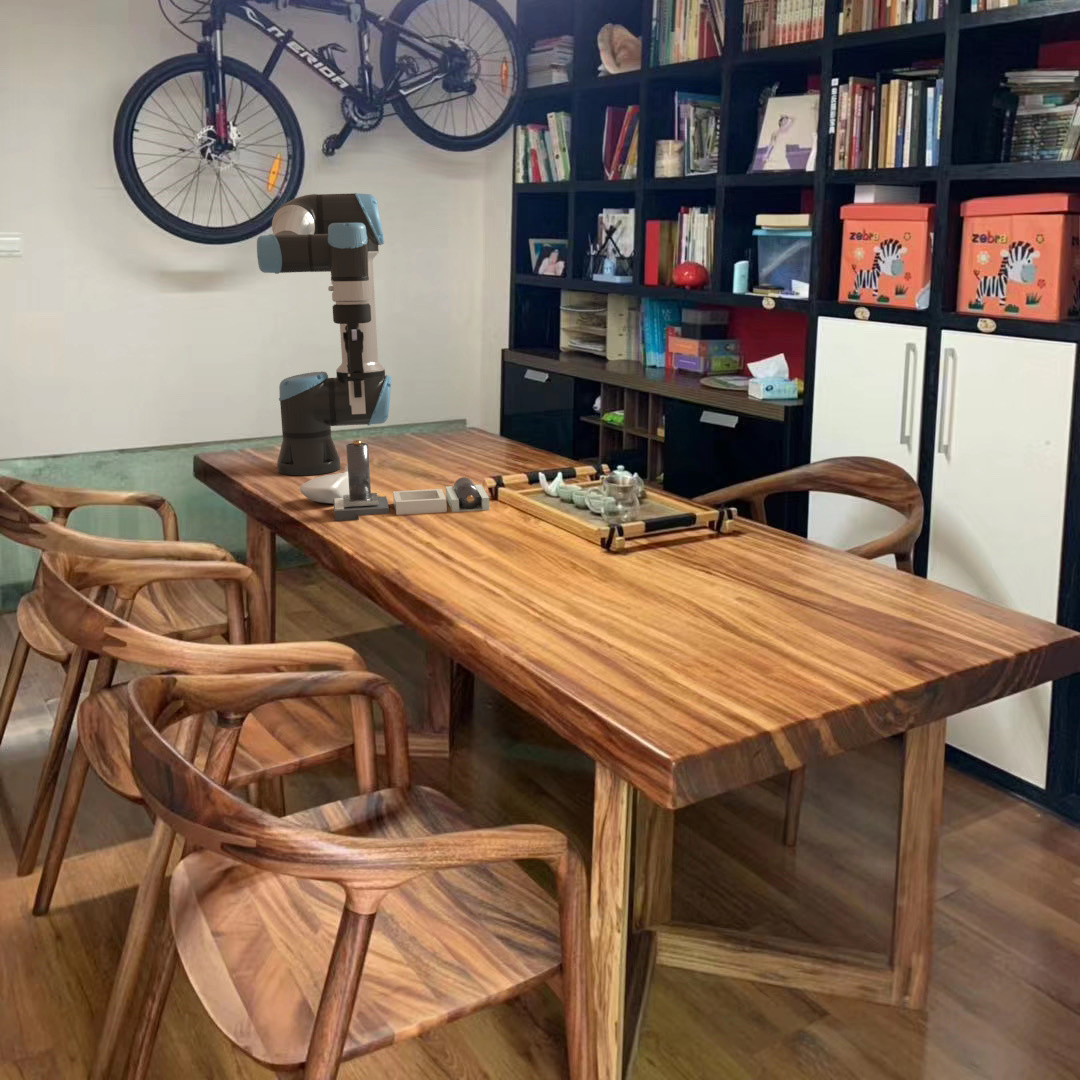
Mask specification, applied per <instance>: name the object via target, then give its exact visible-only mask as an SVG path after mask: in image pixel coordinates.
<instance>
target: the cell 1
mask: <svg viewBox="0 0 1080 1080" xmlns="http://www.w3.org/2000/svg"><path fill="white" fill-rule="evenodd" d="M369 455H370V454H369V444H368V443H366V442H362V441H361V440H357V439H356V440H353V441H352V443H347V444H346V463H347V464H348V480H349V497H350V499H353V500H364V499H369V498H371V493H372V491H371V489H372V488H371V471H370V456H369ZM347 464H346V465H347Z"/></svg>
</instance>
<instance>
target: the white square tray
mask: <svg viewBox="0 0 1080 1080" xmlns="http://www.w3.org/2000/svg"><path fill="white" fill-rule="evenodd" d="M392 496H393V497H392V498H393V507H394V511H395V514H396V516H403V515H419V514H420V515H421V514H434V513H435V514H436V513H447V512H448V511H447V510H448V509H447V507H448V505H447V504H448V503H447V499H446V494H444V491H443V488H429V489H415V490H414V489H412V490H411V489H410V490H396V491H392Z"/></svg>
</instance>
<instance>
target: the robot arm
mask: <svg viewBox="0 0 1080 1080" xmlns="http://www.w3.org/2000/svg"><path fill="white" fill-rule="evenodd" d="M381 221H382V220H381V216H380V211H379V205H378V202H377V198H376V197H375V196H374V195H372V194H370V193H357V192H354V193H352V192H351V193H326V194H325V193H324V194H323V193H321V194H317V193H313V194H304V195H301V196H297V197H296V198H292V199H291V200H289V201H287V202H285V203H284V204H282V205H281V206H280V207H279V208H277V210H276V211H275V213H274V215H273V217H272V221H271V228H272V233H270V234H266V235H259V236H258V237H257V239H256V257H257V265H258V268H259V271H261V272H262V273H264V274H266V273H267V274H276V275H278V274H282V273H283V274H284V273H285V274H287V273H290V274H291V273H319V272H320V273H322V272H328V273H330V281H331V282H330V284H331V285H330V286H328V291H329V292H332V293H331V300H332V302H334V304H333V305H332V306H331V307H332V318H333V319H332V320H333V322H334V324H337V325H338V324H339V332H340V335H339V336H340V349H341V364H340V365H339V366H338V368H337V369H336V377H329V374H328V373H327V371H311V372H306V373H301V374H296V375H291V376H289V377H288V376H287V377H286V378H284V379H283V380H281V382H280V383H279V387H278V388H279V391H278V392H279V398H278V401H279V403H280V405H279V406H280V418H281V420H280V421H281V434H282V435H281V436H282V442H281V447H280V450H279V453H278V457H277V461H276V462H277V464H276V465H277V472H278V473H279V474H282V475H288V476H314V475H315V476H316V475H324V474H329V473H330V474H331V473H333V472H337V471H339V470H340V469H341V459H340V456H339V453H338V450H337V448H336V445H335V443H334V440H333V437H332V429H331V428H332V427H338V426H339V427H342V426H345V427H346V426H362V425H363V426H364V425H365V426H366V425H367V426H371V425H380V424H384V423H386V422H387V421H388V419H389V412H390V403H391V401H390V400H391V388H392V387H391V386H392V376H391V375H388V374H386V370H385V369H386V368H385V367H384V366H383V365H382V364H381V363H380V362H379V352H378V338H377V337H378V336H377V317H376V300H375V299H376V298H375V280H374V261H373V260H374V259H375V257H376V256H377V255H378V254H379V251H380V250H379V246H381V245H384V243H385V240H384V239H385V238H384V233H383V227H382V222H381Z"/></svg>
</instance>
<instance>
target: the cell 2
mask: <svg viewBox="0 0 1080 1080" xmlns="http://www.w3.org/2000/svg"><path fill="white" fill-rule="evenodd" d="M475 485H476V484H475V483H474V482H473V481H472V480H471V478H469V477H459V478H458V479H456V480H455V482H454V484H453V489H454V491H455V493H456V495H457V497H458V499H459V502H460V504H461V505H462V506H463V507H464V508H466V509H473V508H476V507H477V506H478V505H479V503H480V500H481V497H480V494H479V492H478V490H477V489H476V487H475Z"/></svg>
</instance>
